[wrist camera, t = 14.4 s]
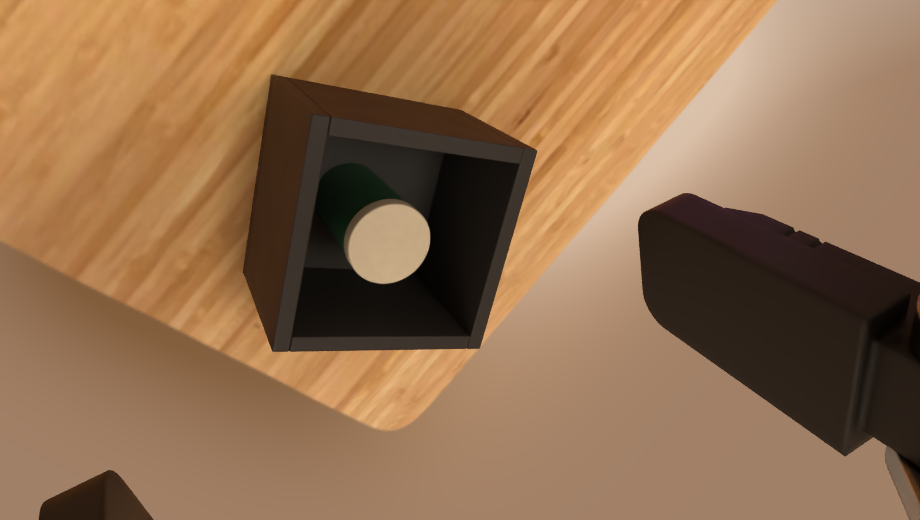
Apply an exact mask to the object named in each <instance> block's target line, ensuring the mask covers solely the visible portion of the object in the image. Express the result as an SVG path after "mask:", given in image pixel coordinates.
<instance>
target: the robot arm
mask: <svg viewBox="0 0 920 520" xmlns="http://www.w3.org/2000/svg"><path fill="white" fill-rule="evenodd" d="M638 234H639V247H640V260H641V274H642V287H643V295H644V299H645V302H646V304H647V307H648V309H649V311H650V312H651V314H652V315H653V317H654V318H655V319H656V321H657V322H658V323H659V324H660V325H661V326H662V327H664V328H665V329H666V330H668V331H669V332H671V333H672V334H673V335H675V336H676V337H678V338H679V339H680V340H682V341H683V342H685V343H686V344H687V345H689V346H690V347H692V348H693V349H694V350H696V351H697V352H699V353H700V354H702V355H703V356H704V357H706V358H707V359H709V360H710V361H711V362H713V363H714V364H716V365H717V366H718V367H720V368H721V369H723V370H724V371H726V372H727V373H728V374H730V375H731V376H733V377H734V378H735V379H737V380H738V381H740V382H741V383H742V384H744V385H745V386H747V387H748V388H749V389H751V390H752V391H754V392H755V393H757V394H758V395H759V396H761V397H762V398H764V399H765V400H767V401H768V402H769V403H771V404H772V405H773V406H775V407H776V408H778V409H779V410H780V411H782V412H783V413H785V414H786V415H788V416H789V417H790V418H792V419H793V420H795V421H796V422H797V423H799V424H800V425H802V426H803V427H804V428H806V429H807V430H809V431H810V432H811V433H813V434H814V435H816V436H817V437H819V438H820V439H821V440H823V441H824V442H825V443H827V444H828V445H830V446H831V447H833V448H834V449H835V450H837V451H838V452H840V453H841V454H842V455H844V456H847V455H848V454H849V453H851V452H852V451H854V450H855V449H857V448H858V447H859V446H861V445H863V444H864V443H865V442H867V441H868V440H870V439H871V438H873V437H874V438H876V439H877V440H879V441H881V442H882V443H883V444H885V445H887V446H886V450H885V462H886V465H887V468H888V471H889V473H890V475H891V478H892V480H893V482H894V485H895V487H896V489H897V492H898V494H899V496H900V499H901V501H902V504H903V506H904V508H905V510H906V513H907V515H908V518H909V520H920V282H917V281H915V280H913V279H910V278H908V277H906V276H903V275H901V274H899V273H896V272H894V271H892V270H890V269H887V268H885V267H883V266H880V265H878V264H876V263H873V262H871V261H869V260H866V259H864V258H862V257H860V256H857V255H855V254H853V253H850V252H848V251H846V250H843V249H841V248H839V247H837V246H834V245H832V244H830V243H827V242H824V243H823V244H822V243H821V242H820V241H819V239H818V238H816V237H814V236H811V235H809V234H806V233H804V232H802V231H798V232H795V231H794V229H793V227H791V226H788V225H786V224H784V223H781V222H779V221H777V220H774V219H772V218H770V217H768V216H765V215H763V214H758V213H752V212H747V211H741V210H736V209H730V208H723V207H721V206H718V205H716V204H713V203H711V202H709V201H707V200H705V199H703V198H700V197H698V196H696V195H693V194H690V193H683V194H681V195H678V196H676V197H674V198H672V199H670V200H668V201H666V202H664V203H662V204H660V205H658V206H656V207H654V208H652V209H650V210H648V211H646V212H644V213H643V214H642V215H641V216H640V219H639V222H638ZM39 520H153V518H152V517H151V516H150V514H149V513H148V512H147V511H146V509H145V508H144V507H143V505H142V504H141V503H140V501H139V500H138V499H137V497H136V496H135V495H134V494H133V492H132V491H131V490H130V488H129V487H128V486H127V485H126V483H125V482H124V481H123V480H122V478H121V477H120V476H119V475H118V474H117V473H115V472H114V471H111V470H108V471H106V472H104V473H102V474H100V475H98V476H96V477H94V478H91V479H89V480H87V481H85V482H83V483H81V484H79V485H77V486H75V487H73V488H71V489H69V490H67V491H65V492H63V493H61V494H59V495H56V496H55V497H52V498H50V499H48V500H46V501H45V502H44V503H43V504H42V506H41V509H40V515H39Z"/></svg>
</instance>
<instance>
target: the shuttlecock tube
mask: <svg viewBox="0 0 920 520" xmlns="http://www.w3.org/2000/svg"><path fill="white" fill-rule="evenodd" d="M315 208H316V211H317V213H318V215H319V217H320V218H321V220H322V221H323V223H324V224H325V225H326V227H327V228H328V230H329V231H330V233H331V234H332V235H333V237H334V238H335V240H336V241H337V243H338V244H339V245H340V247H341V248H342V250H343V251H344V253H345V255H346V258H347V260H348V262H349V263H350V265H351V266H352V268H353V269H354V270H355V272H356V273H357V274H358V275H359V276H361V277H362V278H364V279H365V280H368V281H370V282H374V283H380V284H387V283H393V282H397V281H400V280H402V279H404V278H406V277H408V276H409V275H411V274H412V273H413V272H414V271H415V270H416V269H417V268H418V267H419V266H420V265H421V264H422V262H423V261H424V259H425V257H426V255H427V253H428V250H429V245H430V230H429V226H428V224H427V222H426V220H425V218H424V217H423V216H422V214H421V213H420V212H419V211H418V210H416V209H415V208H414V207H413V206H412V205H410V204H409V203H407V202H405V201H404V200H403V199H402V198H401V197H400V196H399V195H398V194H397V193H396V192H395V191H393V190H392V189H391V188H390V187H389V186H388V185H387V184H386V183H385V182H384V181H383V180H382V179H381V178H380V177H379V176H378V175H377V174H376V173H375V172H373V171H372V170H371V169H370V168H368V167H366V166H364V165H361V164H357V163H346V164H341V165H338V166H336V167H334V168H332V169H331V170H329V171H328V172H327V173H326V174H325V175H324V176H323V177H322V178H321V179H320V181H319V185H318V191H317V197H316V202H315Z"/></svg>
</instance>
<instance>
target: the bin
mask: <svg viewBox="0 0 920 520" xmlns="http://www.w3.org/2000/svg"><path fill="white" fill-rule="evenodd" d="M536 154H537V150H535V149H534V148H532V147H530V146H528V145H526V144H524V143H522V142H520V141H518V140H517V139H515V138H513V137H511V136H509V135H507V134H505V133H503V132H501V131H500V130H498V129H496V128H494V127H492V126H490V125H488V124H486V123H485V122H483V121H481V120H479V119H477V118H475V117H473V116H471V115H469V114H468V113H466V112H464V111H462V110H457V109H452V108H447V107H441V106H436V105H431V104H425V103H420V102H415V101H409V100H404V99H399V98H394V97H388V96H383V95H378V94H372V93H367V92H362V91H356V90H351V89H346V88H340V87H335V86H330V85H324V84H319V83H314V82H308V81H303V80H298V79H292V78H287V77H282V76H276V75H271V80H270V87H269V94H268V101H267V108H266V115H265V122H264V129H263V136H262V143H261V150H260V157H259V163H258V170H257V177H256V184H255V191H254V198H253V205H252V212H251V219H250V226H249V233H248V240H247V247H246V254H245V261H244V268H243V273H244V276H245V278H246V281H247V284H248V286H249V289H250V292H251V295H252V297H253V300H254V303H255V305H256V308H257V311H258V314H259V316H260V319H261V322H262V324H263V327H264V330H265V333H266V335H267V338H268V341H269V344H270V346H271V349H272V351H273V352H287V351H291V352H295V351H356V350H417V349H466V348H467V349H479V348H480V346H481V342H482V339H483V335H484V332H485V329H486V325H487V322H488V318H489V315H490V311H491V308H492V305H493V301H494V298H495V294H496V291H497V287H498V284H499V281H500V277H501V274H502V270H503V267H504V263H505V260H506V257H507V253H508V250H509V246H510V243H511V239H512V236H513V233H514V229H515V226H516V222H517V219H518V215H519V212H520V209H521V205H522V202H523V198H524V195H525V191H526V188H527V185H528V181H529V178H530V174H531V171H532V167H533V164H534V161H535V157H536ZM346 163H357V164H361V165H364V166H366V167H368V168H370V169H371V170H372V171H373V172H375V173H376V174H377V175H378V176H379V177H380V178H381V179H382V180H383V181H384V182H385V183H386V184H387V185H388V186H389V187H390V188H391V189H392V190H393V191H395V192H396V193H397V194H398V195H399V196H400V197H401V198H402V199H403V200H404V201H405V202H407V203H409V204H410V205H412V206H413V207H414V208H415V209H416V210H418V211H419V212H420V213H421V214H422V216H423V217H424V218H425V220H426V222H427V224H428V226H429V230H430V245H429V250H428V253H427V255H426V257H425V259H424V261H423V262H422V264H421V265H420V266H419V267H418V268H417V269H416V270H415V271H414V272H413V273H412V274H411V275H409V276H408V277H406V278H404V279H402V280H400V281H397V282H393V283H387V284H380V283H374V282H370V281H368V280H365V279H364V278H362V277H361V276H359V275H358V274H357V273H356V272H355V270H354V269H353V268H352V266H351V265H350V263H349V262H348V260H347V258H346V255H345V253H344V251H343V250H342V248H341V247H340V245H339V244H338V243H337V241H336V240H335V238H334V237H333V235H332V234H331V233H330V231H329V230H328V228H327V227H326V225H325V224H324V223H323V221H322V220H321V218H320V217H319V215H318V213H317V211H316V208H315V202H316V197H317V191H318V185H319V181H320V179H321V178H322V177H323V176H324V175H325V174H326V173H327V172H328V171H329V170H331V169H332V168H334V167H336V166H338V165H341V164H346Z"/></svg>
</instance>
